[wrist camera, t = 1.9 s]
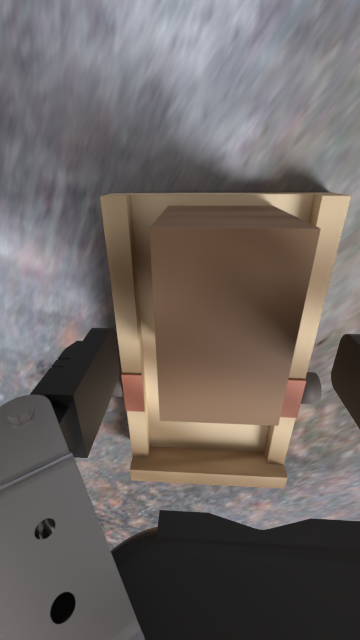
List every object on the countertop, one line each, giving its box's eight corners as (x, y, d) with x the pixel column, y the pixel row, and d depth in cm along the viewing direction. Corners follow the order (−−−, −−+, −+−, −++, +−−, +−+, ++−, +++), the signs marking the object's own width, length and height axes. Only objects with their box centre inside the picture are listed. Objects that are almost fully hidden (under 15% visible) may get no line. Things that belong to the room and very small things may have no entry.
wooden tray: (90, 192, 15) (64, 198, 12) (355, 192, 14) (394, 197, 11) (125, 442, 24) (115, 479, 21) (289, 450, 23) (302, 489, 20)
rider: (168, 205, 14) (149, 227, 9) (273, 205, 14) (321, 228, 8) (171, 345, 18) (159, 420, 12) (253, 347, 17) (278, 426, 12)
